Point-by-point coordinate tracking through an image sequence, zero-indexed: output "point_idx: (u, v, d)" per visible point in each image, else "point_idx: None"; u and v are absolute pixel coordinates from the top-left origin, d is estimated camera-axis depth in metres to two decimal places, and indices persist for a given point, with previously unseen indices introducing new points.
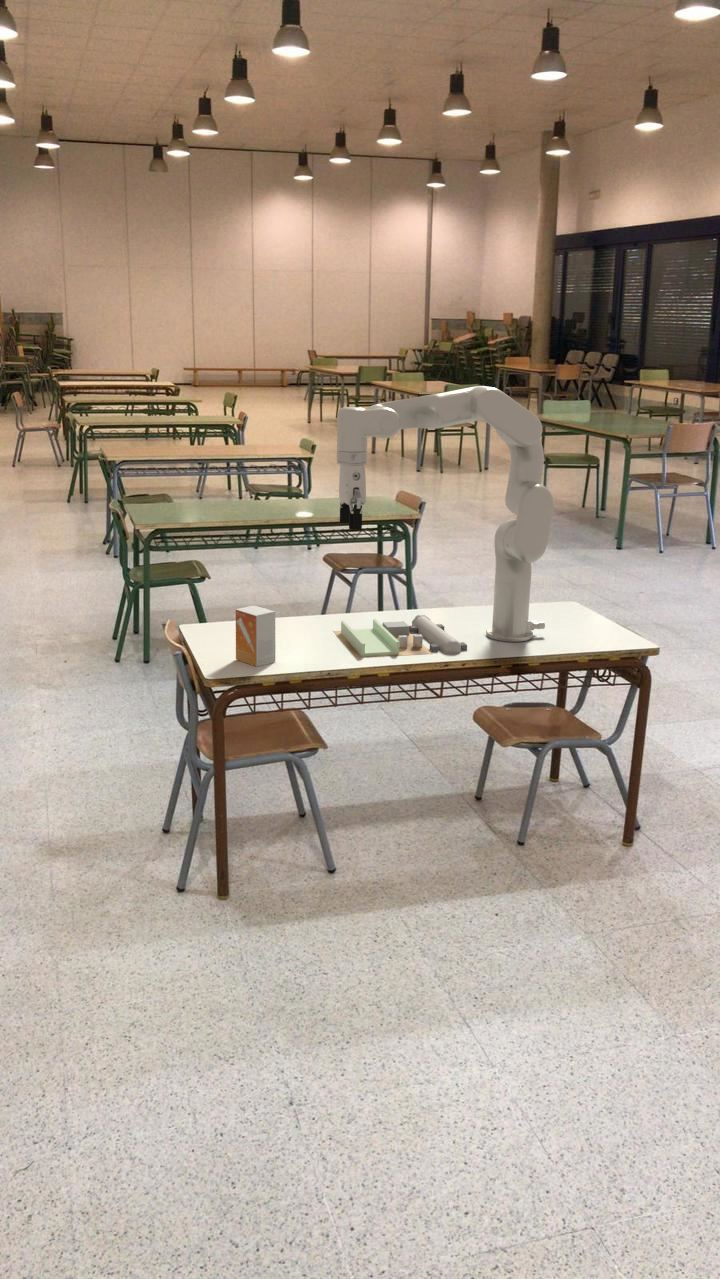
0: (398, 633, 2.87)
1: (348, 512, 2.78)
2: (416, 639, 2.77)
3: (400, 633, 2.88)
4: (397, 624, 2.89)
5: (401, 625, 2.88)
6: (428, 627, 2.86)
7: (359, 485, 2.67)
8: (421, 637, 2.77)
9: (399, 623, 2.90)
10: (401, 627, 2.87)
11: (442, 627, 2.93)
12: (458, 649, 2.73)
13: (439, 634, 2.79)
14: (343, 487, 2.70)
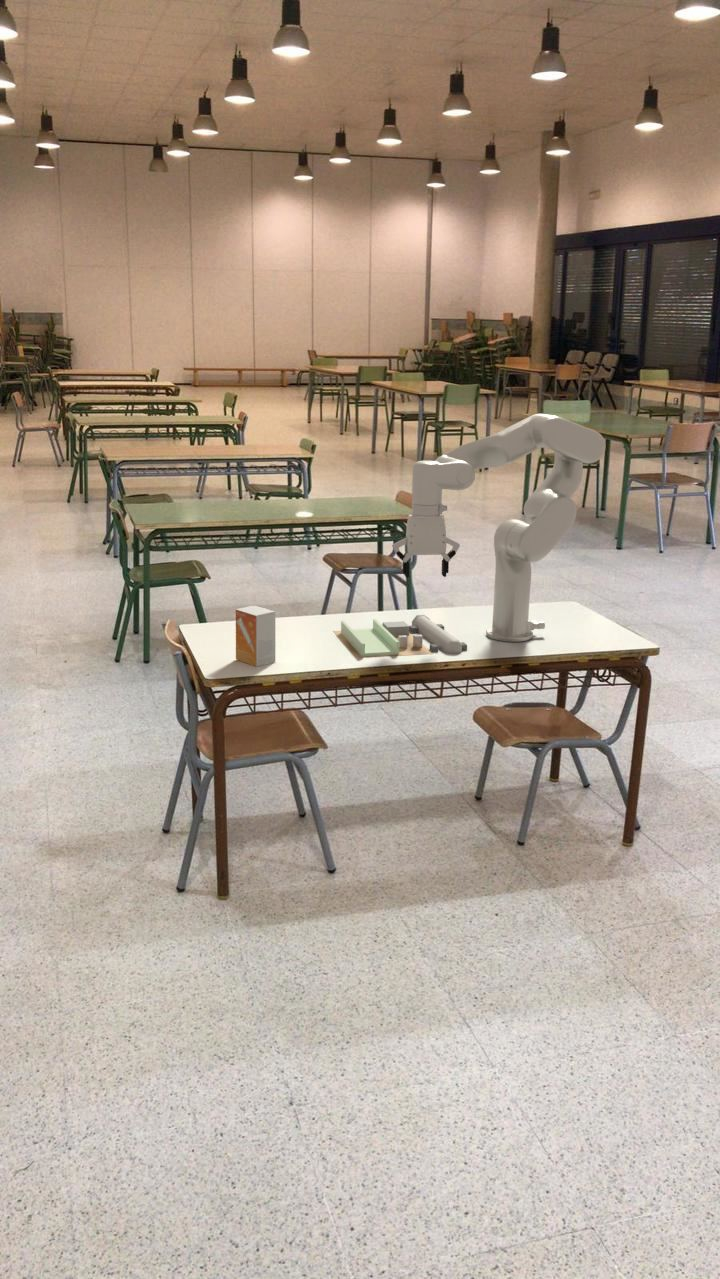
0: (398, 633, 2.87)
1: None
2: (416, 639, 2.77)
3: (400, 633, 2.88)
4: (397, 624, 2.89)
5: (401, 625, 2.88)
6: (428, 627, 2.86)
7: None
8: (421, 637, 2.77)
9: (399, 623, 2.90)
10: (401, 627, 2.87)
11: (442, 627, 2.93)
12: (459, 649, 2.74)
13: (440, 634, 2.79)
14: (433, 539, 2.75)
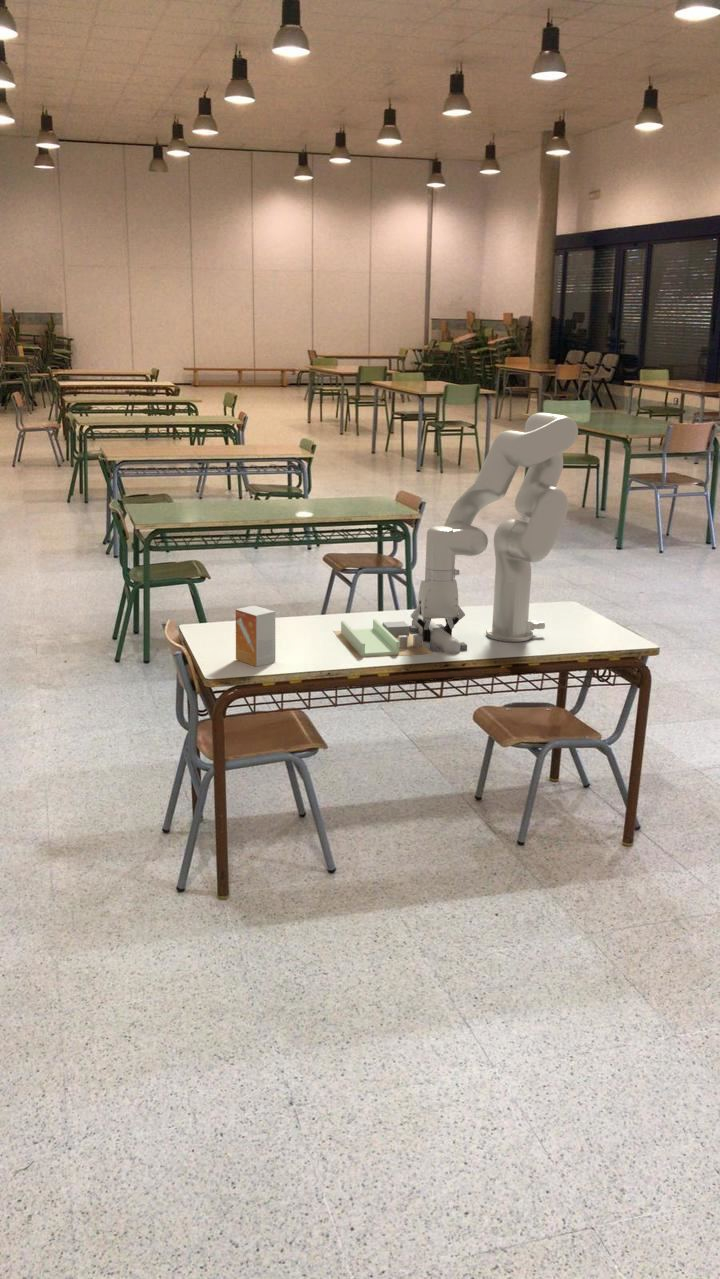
0: (398, 633, 2.87)
1: None
2: (416, 639, 2.77)
3: (400, 633, 2.88)
4: (397, 624, 2.89)
5: (401, 625, 2.88)
6: None
7: None
8: (421, 637, 2.77)
9: (399, 623, 2.90)
10: (401, 627, 2.87)
11: (442, 627, 2.93)
12: (457, 648, 2.74)
13: (439, 633, 2.79)
14: (447, 603, 2.80)
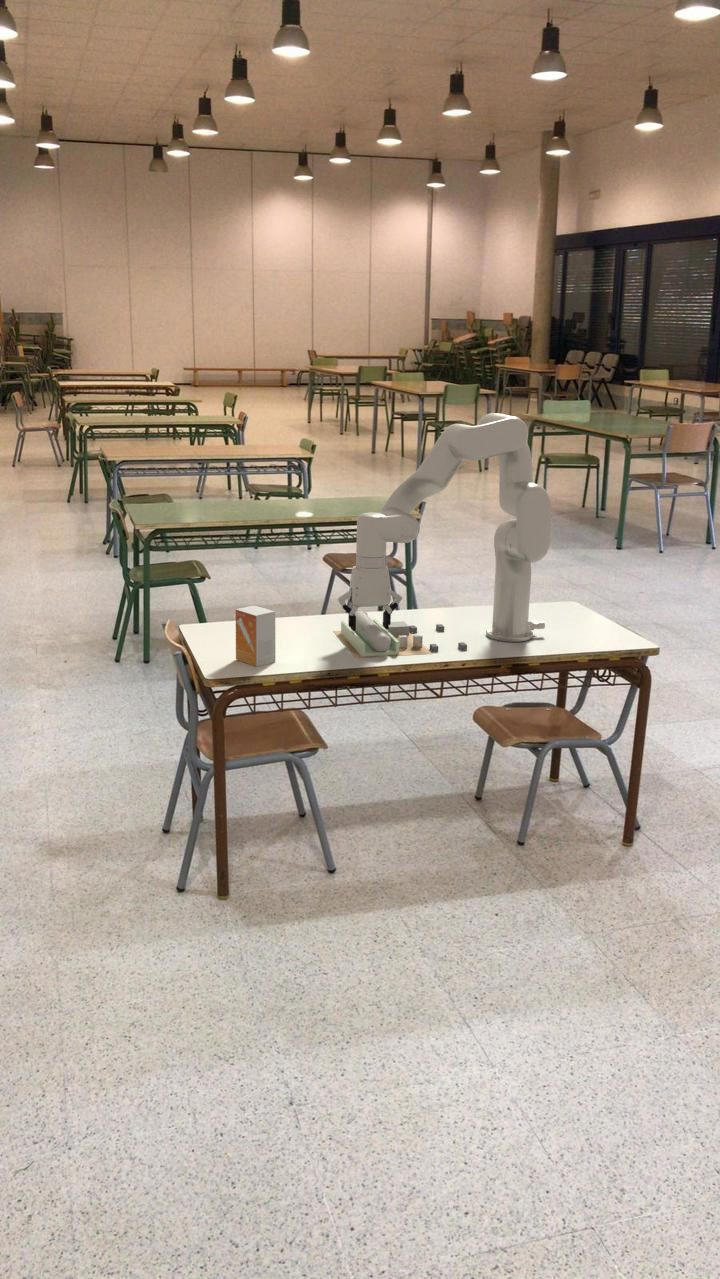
0: (398, 633, 2.87)
1: None
2: (416, 639, 2.77)
3: (400, 633, 2.88)
4: (397, 624, 2.89)
5: (401, 625, 2.88)
6: (362, 622, 2.81)
7: None
8: (421, 637, 2.77)
9: (399, 623, 2.90)
10: (401, 627, 2.87)
11: (442, 627, 2.93)
12: (387, 644, 2.68)
13: (370, 629, 2.74)
14: (378, 591, 2.74)
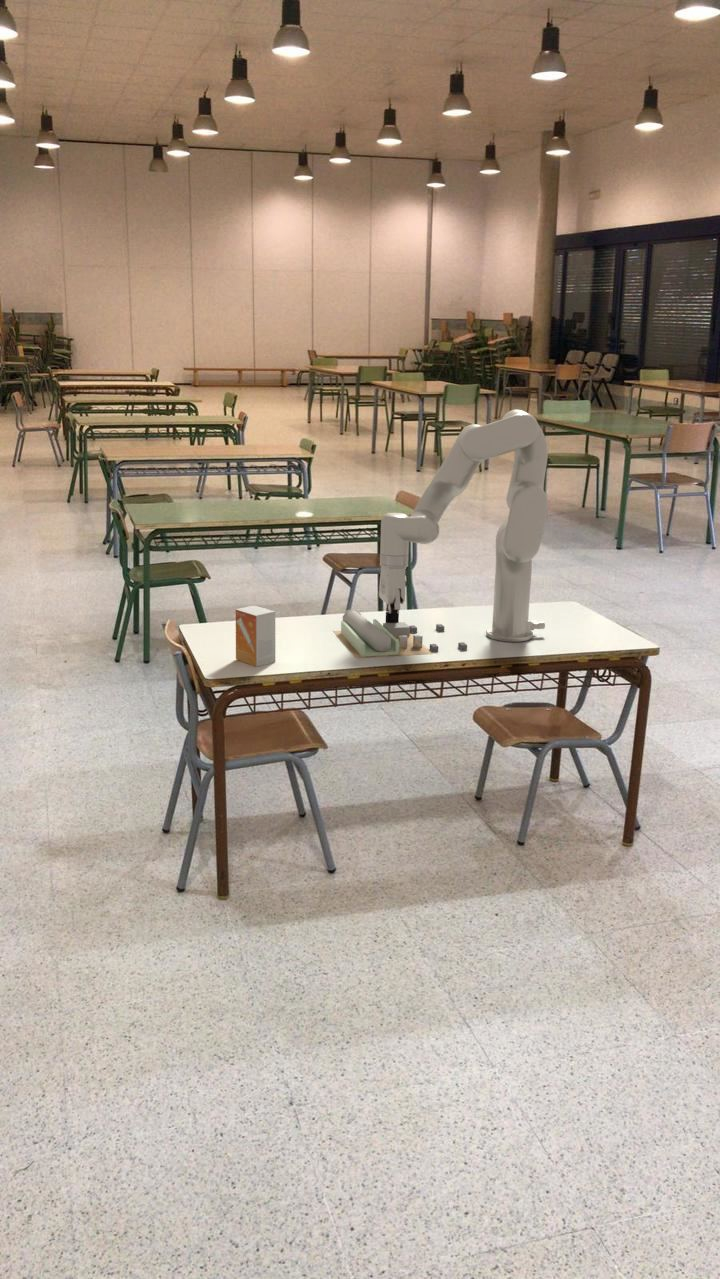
0: (399, 633, 2.86)
1: None
2: (416, 639, 2.77)
3: (401, 634, 2.87)
4: (397, 624, 2.89)
5: (402, 626, 2.87)
6: (358, 622, 2.80)
7: None
8: (421, 637, 2.77)
9: (400, 624, 2.89)
10: (402, 628, 2.86)
11: (442, 627, 2.93)
12: (388, 644, 2.69)
13: (369, 629, 2.74)
14: None
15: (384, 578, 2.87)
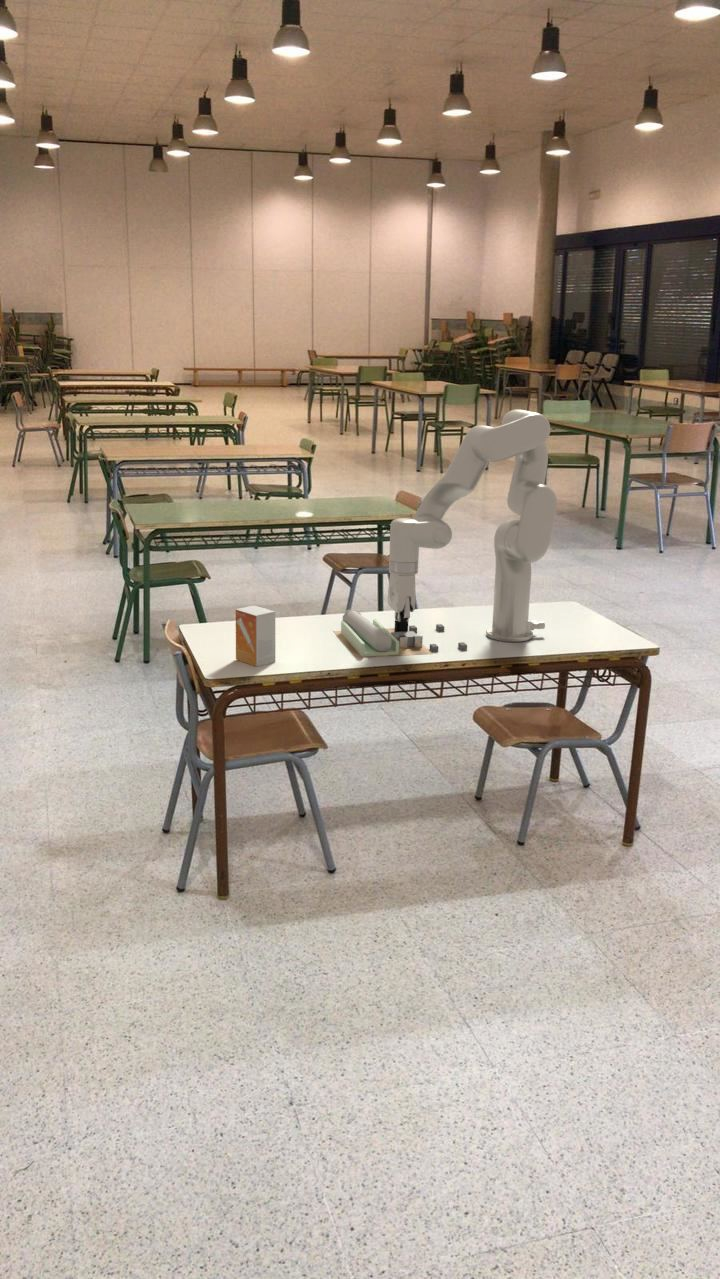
0: (407, 643, 2.78)
1: None
2: (416, 639, 2.77)
3: (409, 643, 2.78)
4: (406, 634, 2.80)
5: (410, 635, 2.79)
6: (358, 622, 2.80)
7: None
8: (421, 637, 2.77)
9: (408, 633, 2.81)
10: (411, 637, 2.78)
11: (442, 627, 2.93)
12: (389, 644, 2.69)
13: (369, 629, 2.74)
14: None
15: (393, 585, 2.79)
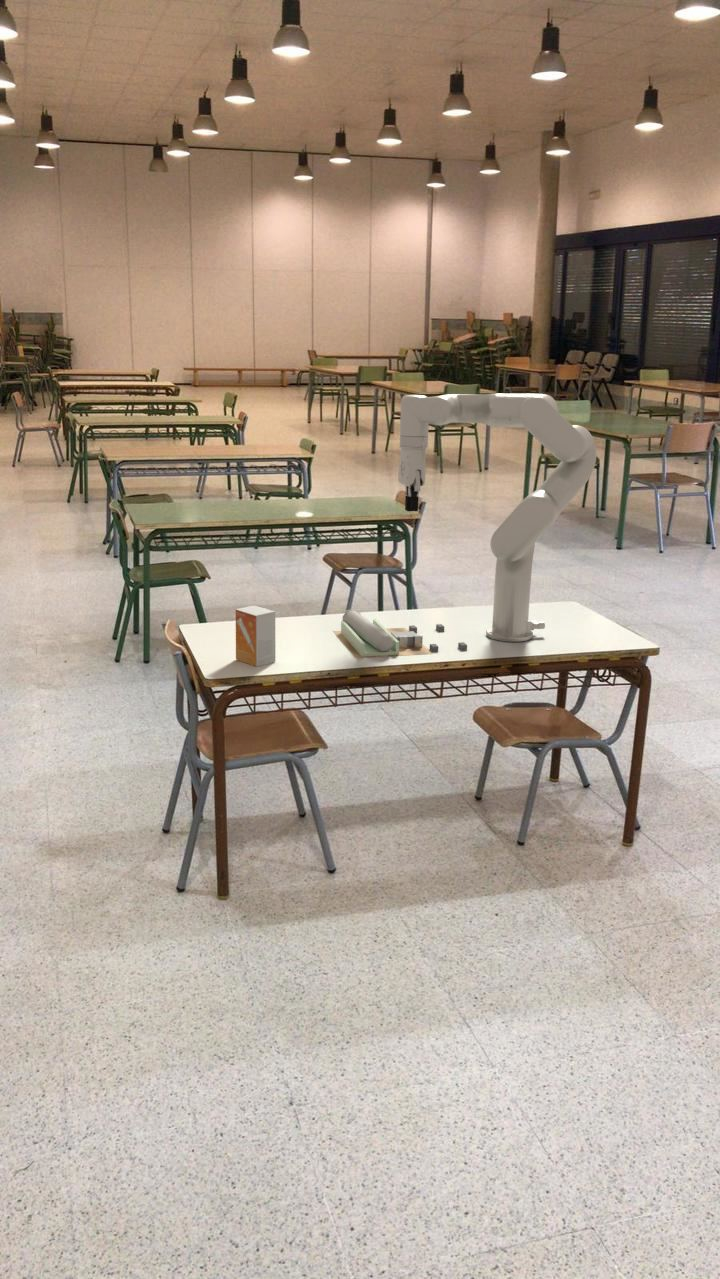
0: (407, 643, 2.78)
1: None
2: (416, 639, 2.77)
3: (409, 643, 2.78)
4: (406, 634, 2.80)
5: (410, 635, 2.79)
6: (359, 622, 2.81)
7: None
8: (421, 637, 2.77)
9: (408, 633, 2.81)
10: (411, 637, 2.78)
11: (442, 627, 2.93)
12: (390, 643, 2.69)
13: (371, 629, 2.74)
14: None
15: (404, 460, 2.89)
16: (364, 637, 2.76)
